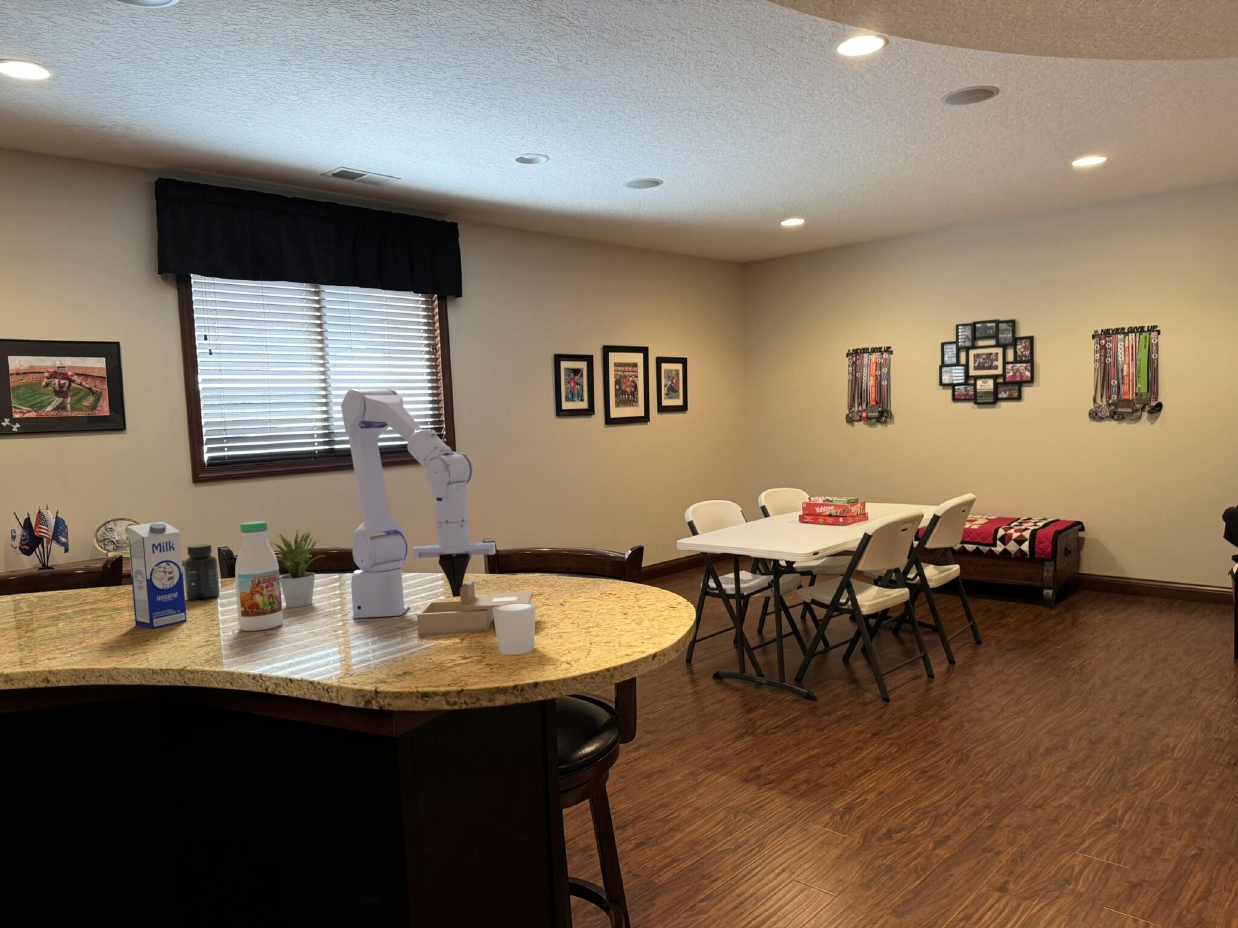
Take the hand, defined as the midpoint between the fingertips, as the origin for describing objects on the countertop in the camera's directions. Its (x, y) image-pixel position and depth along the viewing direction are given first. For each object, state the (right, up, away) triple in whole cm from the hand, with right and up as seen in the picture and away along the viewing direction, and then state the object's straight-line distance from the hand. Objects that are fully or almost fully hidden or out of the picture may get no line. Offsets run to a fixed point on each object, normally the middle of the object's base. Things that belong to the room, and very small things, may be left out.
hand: (457, 595), depth 151 cm
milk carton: (-62, -8, +15) cm, 64 cm away
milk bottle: (-39, -7, +8) cm, 40 cm away
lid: (+7, -1, 0) cm, 7 cm away
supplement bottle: (-65, -7, +39) cm, 76 cm away
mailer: (0, -6, 0) cm, 6 cm away
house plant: (-39, -6, +28) cm, 48 cm away
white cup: (+13, -6, -17) cm, 22 cm away
